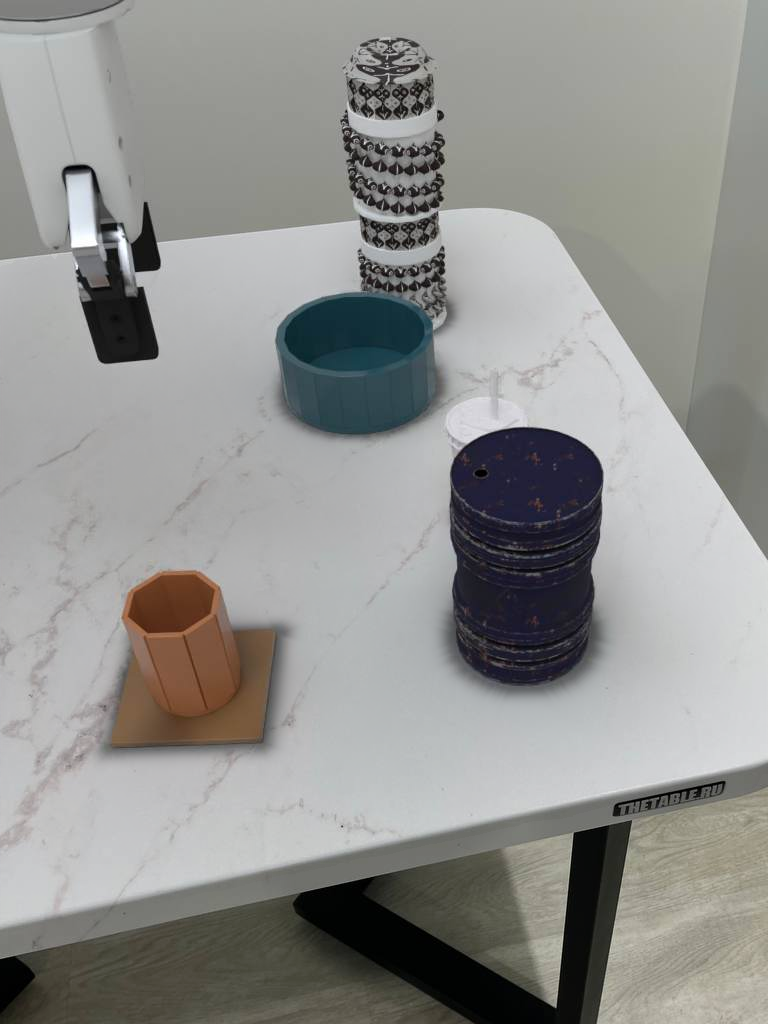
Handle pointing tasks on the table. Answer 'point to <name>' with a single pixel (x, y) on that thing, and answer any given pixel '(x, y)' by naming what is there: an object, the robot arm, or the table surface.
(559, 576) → the navy ridged cylinder
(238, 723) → the trivet
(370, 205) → the decorative candle
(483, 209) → the table surface
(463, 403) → the smoothie
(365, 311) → the big pot
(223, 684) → the small pot
